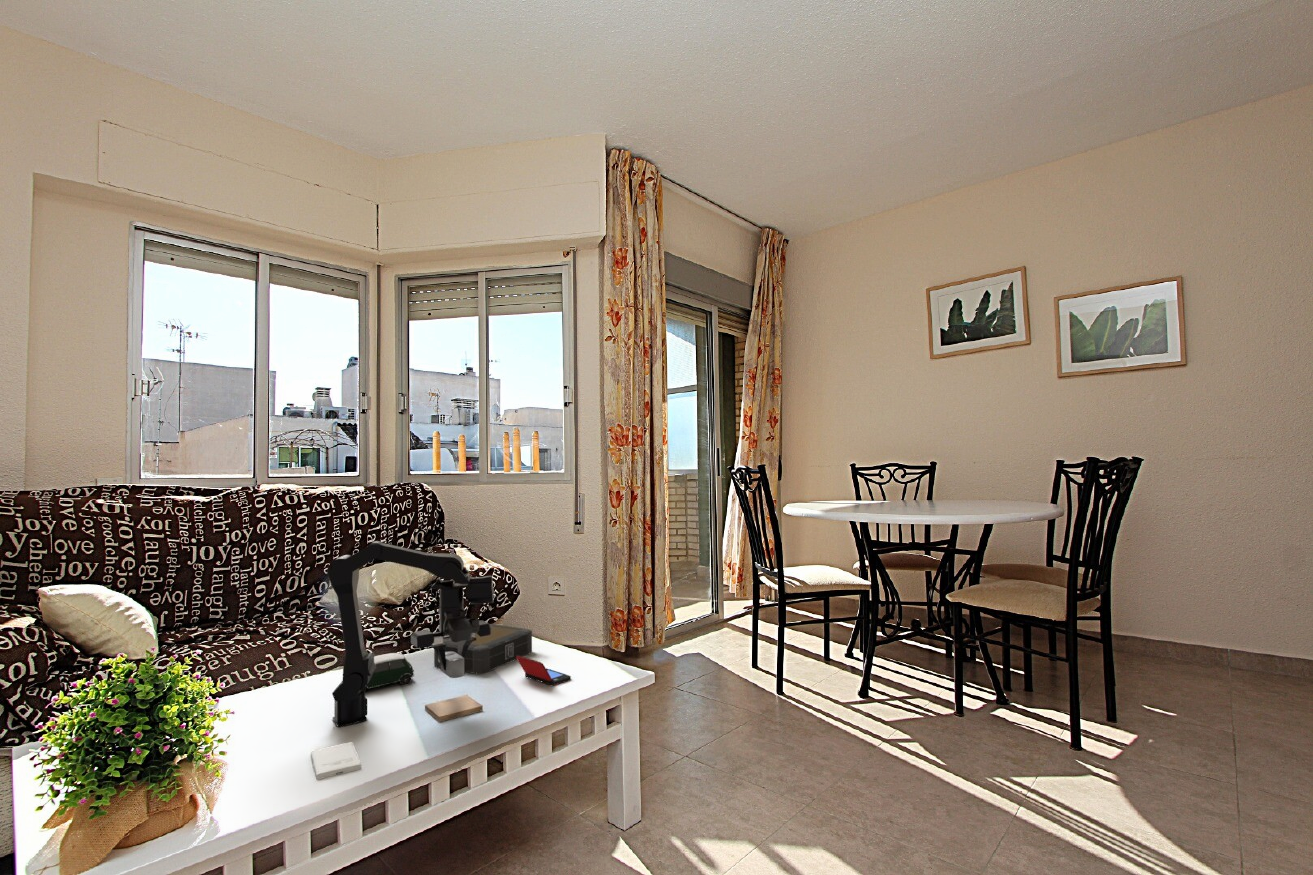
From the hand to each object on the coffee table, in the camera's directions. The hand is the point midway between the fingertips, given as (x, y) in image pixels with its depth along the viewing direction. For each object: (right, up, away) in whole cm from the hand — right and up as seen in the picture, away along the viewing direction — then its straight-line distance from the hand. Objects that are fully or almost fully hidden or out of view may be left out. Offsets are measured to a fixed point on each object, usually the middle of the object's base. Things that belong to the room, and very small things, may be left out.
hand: (452, 668), depth 165 cm
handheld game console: (+19, -12, +23) cm, 32 cm away
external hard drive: (-16, -11, -27) cm, 33 cm away
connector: (-1, -1, +1) cm, 2 cm away
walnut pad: (0, -11, 0) cm, 11 cm away
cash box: (-3, -13, +43) cm, 45 cm away
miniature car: (-27, -12, +20) cm, 35 cm away
